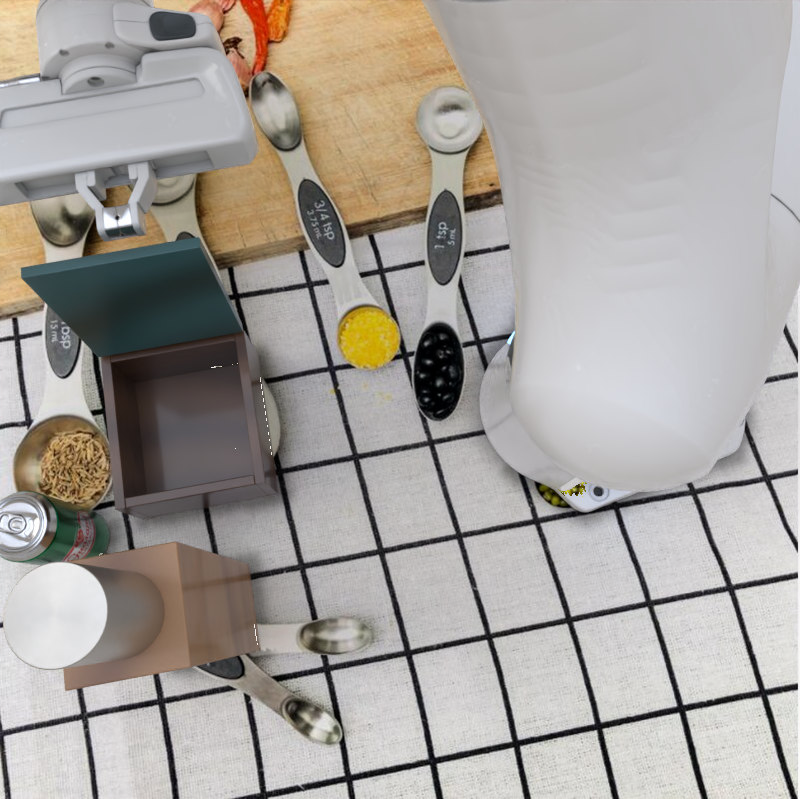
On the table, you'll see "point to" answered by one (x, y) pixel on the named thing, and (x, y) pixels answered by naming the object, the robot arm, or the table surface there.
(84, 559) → the stand
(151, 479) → the chest
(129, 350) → the hatch
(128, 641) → the tin
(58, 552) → the soda can
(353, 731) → the table surface
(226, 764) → the table surface
